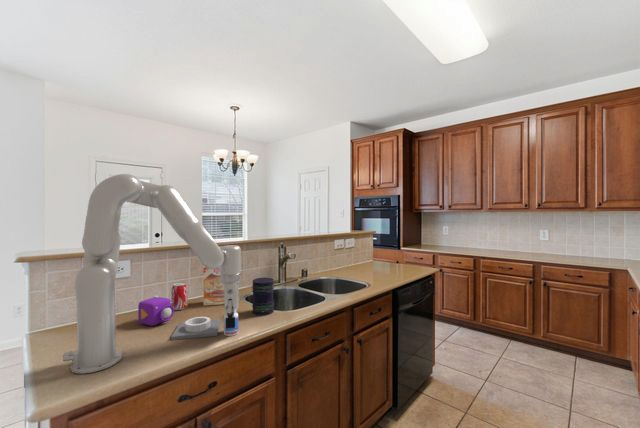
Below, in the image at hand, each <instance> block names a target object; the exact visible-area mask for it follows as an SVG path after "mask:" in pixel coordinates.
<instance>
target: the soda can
mask: <svg viewBox="0 0 640 428" xmlns="http://www.w3.org/2000/svg"><path fill="white" fill-rule="evenodd" d="M187 285H188V284H187V283H186V282H184V281H183V282H174V283H173V284H172V287H171V291H170V292H171V296H170V297H171V299H170V301H171V306H173V308H174V311H177V310H178V311H183V310H185V309H186V308H188V305H189V303H188V302H189V301H188V300H189V298H188V296H189V294H188V291H189V290H188V289H189V288H188V286H187Z"/></svg>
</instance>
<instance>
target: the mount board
mask: <svg viewBox="0 0 640 428" xmlns="http://www.w3.org/2000/svg"><path fill="white" fill-rule="evenodd" d="M221 323H222V318H219V319H218V318H216V319H211V318H210V317H208V316H195V317H191V318H189V319H187V320H185V321H183V322H182V321H181V322H179V323H178V325H177V327H176V328H175V330H174V332H173V333H172V334H171V336H170V340H171V341H176V340H185V339H186V340H187V339H197V338H207V337H217V336H218V334H219V330H220V326H221Z"/></svg>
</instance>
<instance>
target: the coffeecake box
mask: <svg viewBox="0 0 640 428" xmlns="http://www.w3.org/2000/svg"><path fill="white" fill-rule="evenodd" d="M217 305H219V306H221V305H224V284H223V283H221V266H220V267H219V268H217V269H208V268H206V267H205V266H204V265H203V306H217Z"/></svg>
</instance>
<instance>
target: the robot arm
mask: <svg viewBox="0 0 640 428" xmlns="http://www.w3.org/2000/svg"><path fill="white" fill-rule="evenodd" d="M126 202H127V203H130V204H135V205H141V206H144V207H149V208H153V209H158V211H159V212H160V213H161V215H163V217H164V218H165V220H166V221H167V222H168V224H169V225H170V227H171V228H172V229H173V231H174V232H175V233H176V234H177V235H178V236H179V238H180V239H181V240H183V241H184V242H185V243H186V244H187V245H188V247H190V249H191V250H192V251H193V253H194V254H195V256H196V257H197V260H198V262H199V263H200V264H201V265H203V267H204V266H205V267H206V268H208V269H217V268H219V267H220V266H221V283H223V284H224V304H223V306H224V310H227V316H226V328H235V317H234V309H236V310H238V309H239V306H240V304H239V303H240V300H239V299H240V295H239V294H240V292H239V291H240V289H239V283H240V282H241V281H242V248H241V247H240V246H239V245H234V244H233V245H231V244H230V245H229V244H228V245H223V246H222V245H221V246H219V245H218V243H217V242H216V241H215V239H214V238H213V236H211V234H210V233H209V232H208V231H207V229H206V227H204V225H203V224H202V222H201V221H200V220H199V218H198V217H197V215H196V214H195V213H194V211H193V210H192V209H191V207H190V206H189V204H188V203H187V202H186V200H185V199H184V197H183V196H182V194H181V193H180V192H179V191H178V190H177V188H175V187H174V186H172V185H170V184H163V185H160V184H159V185H158V184H156V183H151V182H149V181H144V180H140V179H139V178H138V177H137V176H135V175H132V174H129V173H120V174H115V175H112V176H109V177H107V178H105V179H103V180H102V181H101V182H99V183H98V184H97V185H96V186H95V188H94V189H93V190H92V192H91V194H90V196H89V200H88V204H87V210H86V216H85V222H84V230H83V235H82V238H81V239H82V240H81V246H82V249H83V251H84V254H83V261H82V267H80V269H79V270H78V271H77V273H76V276H75V280H74V291H75V299H76V301H75V302H76V336H77V337H76V343H77V344H76V345H77V346H76V350H74V351H73V350H71V351H65V352H63V354H62V361H63V362H69V361H70V362H71V361H72V363H71V364H70V371H71V372H72V373H74V374H78V375H79V374H91V373H95V372H99V371H101V370H102V371H103V370H106V369H108V368H110V367H113V366H114V365H116V364H117V363H118V362H120V361H121V360H122V358H123V352H122V351H120V350H118V349H117V326H116V325H117V319H116V318H117V317H116V313H117V312H116V311H117V310H116V276H117V273H118V265H119V257H120V249H121V248H120V247H121V240H122V239H121V234H120V232H119V230H120V229H119V228H120V220H121V215H122V208H123V206H124V204H125V203H126ZM232 307H233V309H232ZM232 310H233V312H232Z"/></svg>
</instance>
